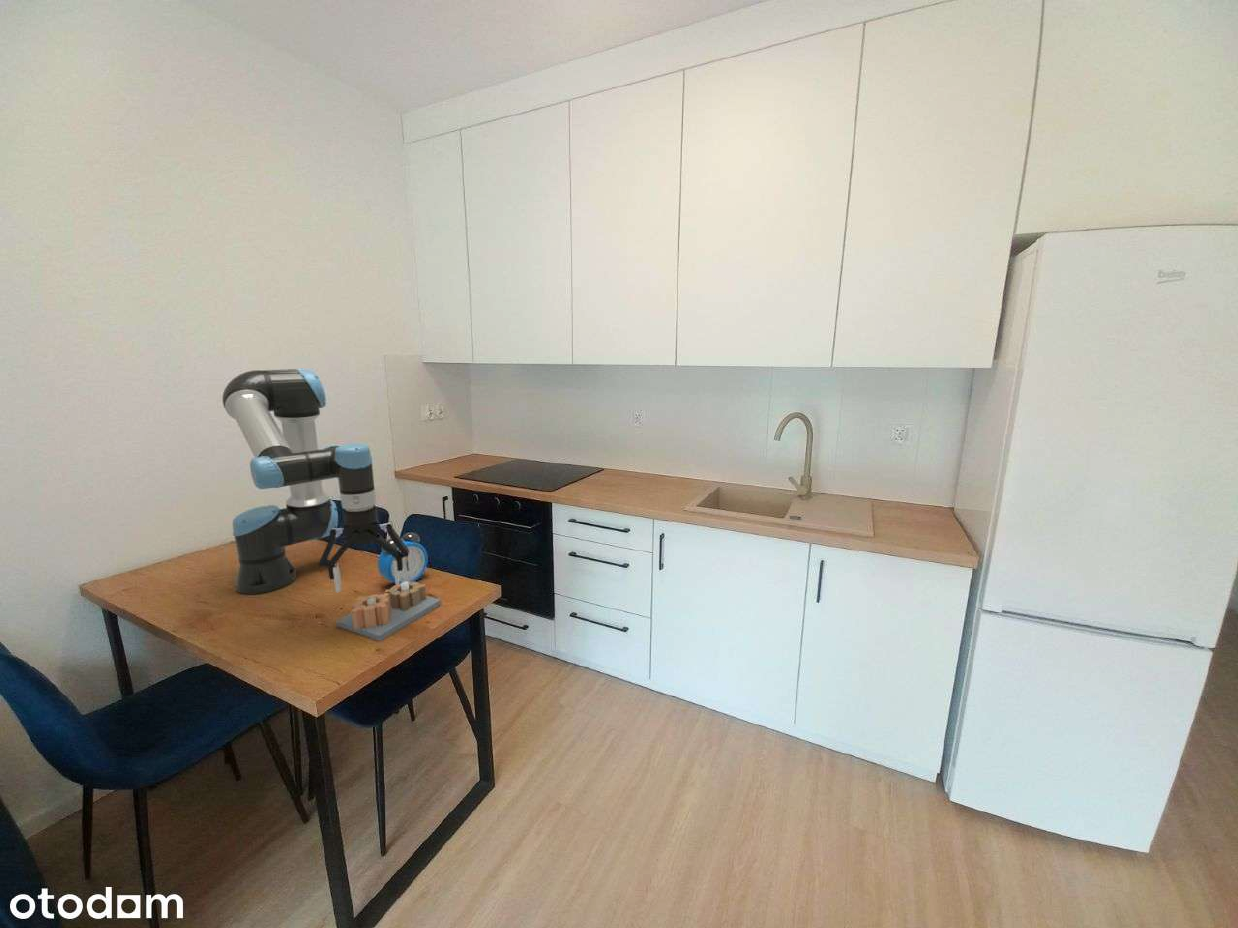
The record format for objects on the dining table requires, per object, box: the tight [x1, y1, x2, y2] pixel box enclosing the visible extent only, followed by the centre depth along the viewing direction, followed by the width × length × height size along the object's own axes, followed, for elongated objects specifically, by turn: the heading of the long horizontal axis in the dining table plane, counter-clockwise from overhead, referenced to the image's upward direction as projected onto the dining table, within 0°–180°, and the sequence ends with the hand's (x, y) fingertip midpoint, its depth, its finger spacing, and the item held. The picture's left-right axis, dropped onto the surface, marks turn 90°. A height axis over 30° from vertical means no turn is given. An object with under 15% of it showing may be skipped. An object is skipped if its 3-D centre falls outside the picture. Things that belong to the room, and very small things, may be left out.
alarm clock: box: [377, 531, 429, 584], centre depth 150 cm, size 13×6×15 cm, turn 144°
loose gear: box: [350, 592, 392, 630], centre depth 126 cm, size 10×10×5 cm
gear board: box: [335, 580, 442, 642], centre depth 131 cm, size 16×20×7 cm
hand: (368, 586), depth 125 cm, fingers open, 13 cm apart
